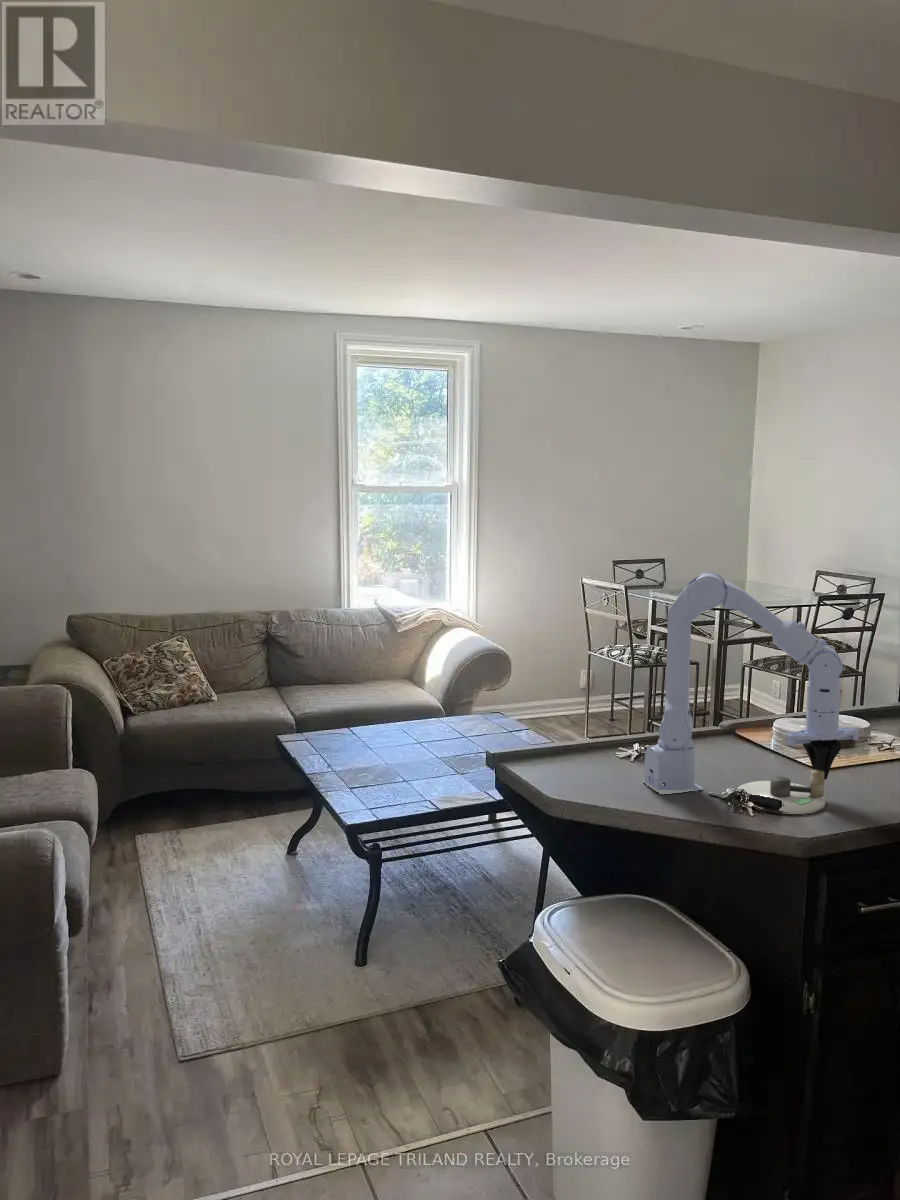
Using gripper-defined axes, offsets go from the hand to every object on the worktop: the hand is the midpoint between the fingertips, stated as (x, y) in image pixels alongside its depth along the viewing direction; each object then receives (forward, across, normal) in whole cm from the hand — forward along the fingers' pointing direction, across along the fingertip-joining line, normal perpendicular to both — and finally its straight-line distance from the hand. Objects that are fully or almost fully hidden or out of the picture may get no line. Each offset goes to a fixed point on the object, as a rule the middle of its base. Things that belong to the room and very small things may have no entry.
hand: (820, 778), depth 166 cm
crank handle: (+3, +5, 0) cm, 6 cm away
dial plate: (+4, +8, -1) cm, 9 cm away
